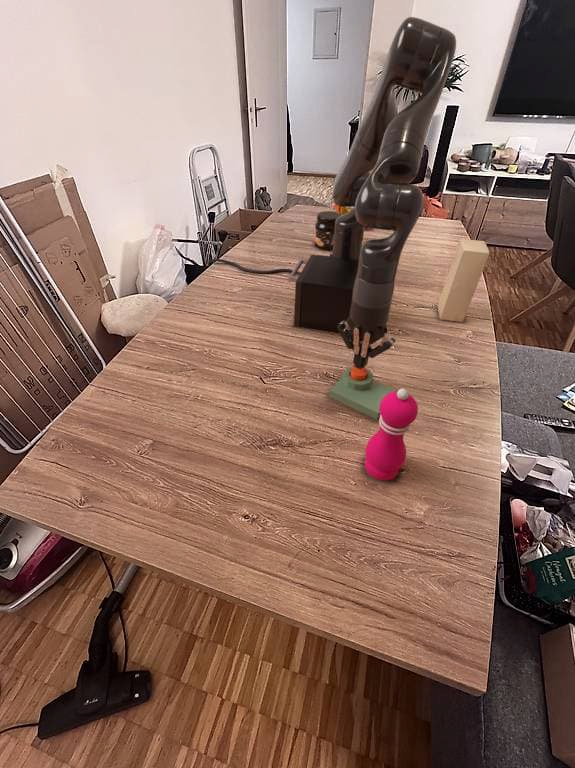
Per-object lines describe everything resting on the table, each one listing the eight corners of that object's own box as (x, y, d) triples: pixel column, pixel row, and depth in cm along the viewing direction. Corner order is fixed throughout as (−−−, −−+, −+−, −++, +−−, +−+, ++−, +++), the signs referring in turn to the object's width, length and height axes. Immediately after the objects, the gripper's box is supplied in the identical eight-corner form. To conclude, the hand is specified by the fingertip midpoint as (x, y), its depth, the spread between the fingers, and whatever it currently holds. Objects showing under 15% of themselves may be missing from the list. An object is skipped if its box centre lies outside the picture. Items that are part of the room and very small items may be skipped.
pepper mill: (358, 452, 74) (375, 376, 60) (394, 450, 74) (418, 373, 61) (367, 484, 68) (387, 408, 55) (405, 481, 69) (435, 405, 56)
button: (347, 377, 85) (348, 371, 84) (355, 369, 87) (355, 363, 86) (361, 383, 84) (362, 377, 82) (368, 375, 86) (370, 369, 85)
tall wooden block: (465, 323, 109) (493, 252, 95) (439, 320, 110) (462, 250, 96) (462, 309, 115) (487, 240, 101) (437, 306, 116) (458, 238, 102)
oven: (300, 327, 107) (301, 281, 97) (314, 297, 120) (316, 254, 110) (348, 335, 104) (355, 289, 94) (358, 303, 117) (364, 260, 107)
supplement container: (309, 243, 152) (311, 212, 144) (332, 239, 156) (335, 209, 148) (321, 253, 145) (323, 221, 137) (345, 248, 148) (348, 217, 140)
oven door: (284, 324, 107) (285, 279, 98) (300, 294, 120) (302, 253, 111) (299, 326, 107) (301, 282, 97) (313, 296, 119) (316, 255, 110)
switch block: (329, 397, 85) (330, 384, 83) (349, 374, 91) (351, 361, 89) (376, 420, 80) (380, 407, 78) (395, 394, 86) (399, 382, 84)
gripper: (412, 299, 71) (394, 369, 83) (351, 280, 77) (342, 347, 89) (396, 316, 67) (379, 387, 79) (332, 294, 73) (325, 363, 84)
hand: (359, 366), depth 84 cm, fingers closed
